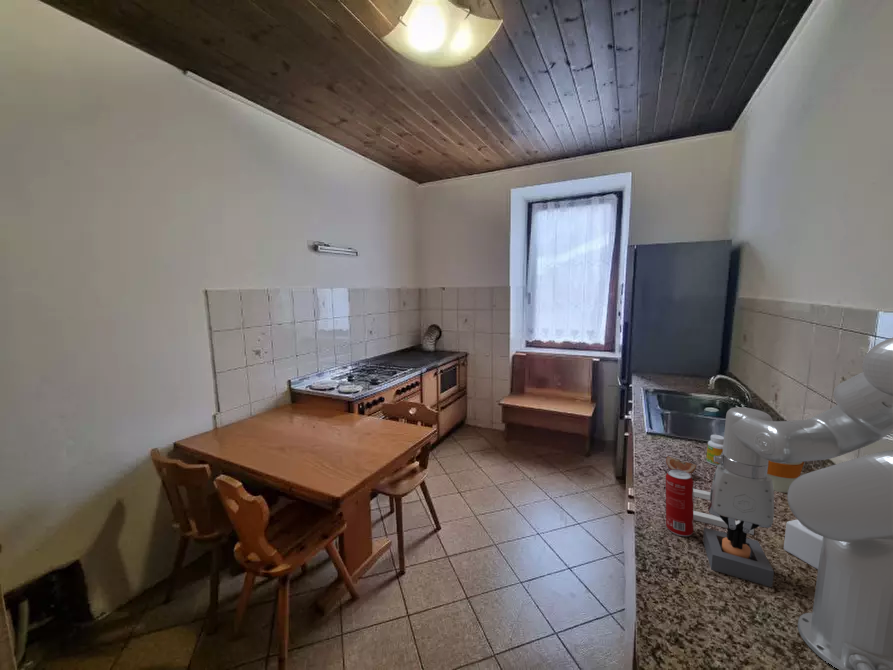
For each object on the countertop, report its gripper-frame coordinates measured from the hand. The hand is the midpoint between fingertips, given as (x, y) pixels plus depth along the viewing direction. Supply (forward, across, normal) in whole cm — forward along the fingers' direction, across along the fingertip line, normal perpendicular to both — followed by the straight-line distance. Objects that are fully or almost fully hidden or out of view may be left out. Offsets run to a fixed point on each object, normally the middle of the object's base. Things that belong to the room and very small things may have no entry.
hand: (735, 544), depth 77 cm
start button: (+2, 0, 0) cm, 2 cm away
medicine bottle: (+4, +16, +10) cm, 19 cm away
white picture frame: (+4, -1, +21) cm, 21 cm away
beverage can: (+4, -10, +7) cm, 13 cm away
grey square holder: (+4, 0, 0) cm, 4 cm away
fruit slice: (+5, -6, +40) cm, 41 cm away
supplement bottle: (+5, +6, +55) cm, 55 cm away
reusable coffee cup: (+4, +19, +46) cm, 50 cm away
